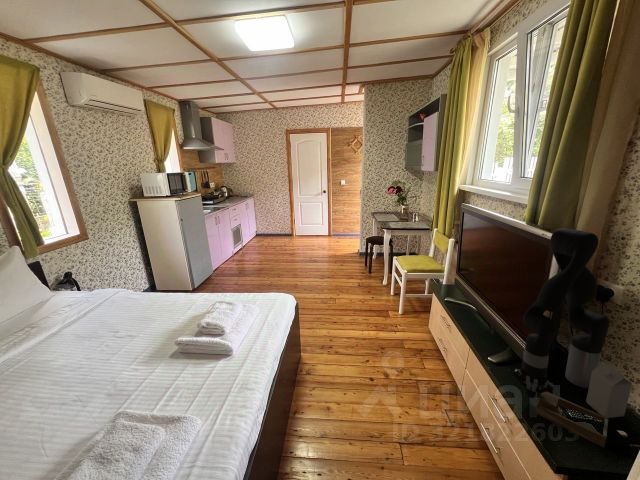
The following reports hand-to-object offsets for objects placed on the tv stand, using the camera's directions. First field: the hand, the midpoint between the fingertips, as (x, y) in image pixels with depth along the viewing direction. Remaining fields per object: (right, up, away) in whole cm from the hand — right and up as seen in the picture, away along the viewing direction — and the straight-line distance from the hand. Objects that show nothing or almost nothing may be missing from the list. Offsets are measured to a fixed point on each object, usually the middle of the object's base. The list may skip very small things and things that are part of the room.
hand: (530, 396), depth 106 cm
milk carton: (+24, -2, -6) cm, 24 cm away
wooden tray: (+8, -4, -8) cm, 12 cm away
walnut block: (+3, -2, -4) cm, 5 cm away
